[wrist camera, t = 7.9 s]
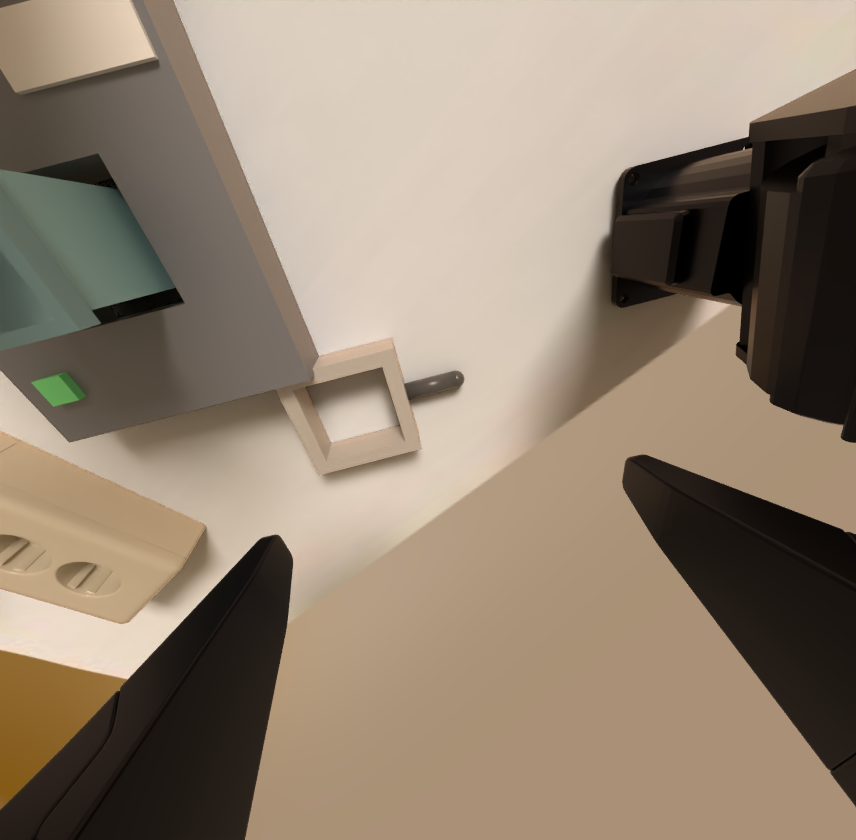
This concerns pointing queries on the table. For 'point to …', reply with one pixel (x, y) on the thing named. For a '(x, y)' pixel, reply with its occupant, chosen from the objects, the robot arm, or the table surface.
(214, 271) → the port panel
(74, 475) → the electrical outlet
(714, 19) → the table surface
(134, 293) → the plug
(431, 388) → the beige frame with handle
